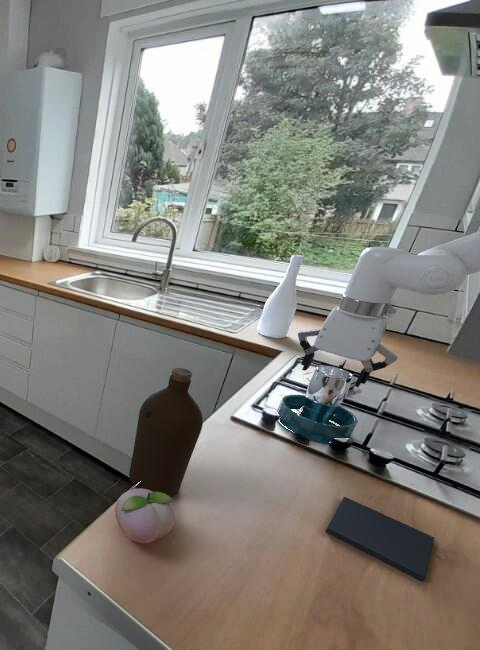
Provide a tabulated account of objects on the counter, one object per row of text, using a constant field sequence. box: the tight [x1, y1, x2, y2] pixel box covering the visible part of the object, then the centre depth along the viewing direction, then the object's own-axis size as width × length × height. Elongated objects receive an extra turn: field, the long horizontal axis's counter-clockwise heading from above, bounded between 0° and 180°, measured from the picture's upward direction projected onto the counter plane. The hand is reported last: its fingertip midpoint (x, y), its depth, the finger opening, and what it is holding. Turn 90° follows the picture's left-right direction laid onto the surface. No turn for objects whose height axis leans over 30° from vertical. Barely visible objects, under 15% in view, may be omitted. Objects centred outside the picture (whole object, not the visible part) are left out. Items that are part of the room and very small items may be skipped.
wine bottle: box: [256, 254, 305, 339], centre depth 150 cm, size 10×10×30 cm
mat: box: [324, 496, 435, 582], centre depth 70 cm, size 12×12×1 cm
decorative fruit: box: [114, 488, 176, 544], centre depth 68 cm, size 9×8×10 cm
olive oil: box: [128, 367, 204, 498], centre depth 77 cm, size 11×11×25 cm
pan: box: [276, 394, 359, 445], centre depth 99 cm, size 14×14×5 cm
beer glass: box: [300, 365, 354, 424], centre depth 97 cm, size 7×7×15 cm
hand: (330, 376), depth 95 cm, fingers open, 9 cm apart
